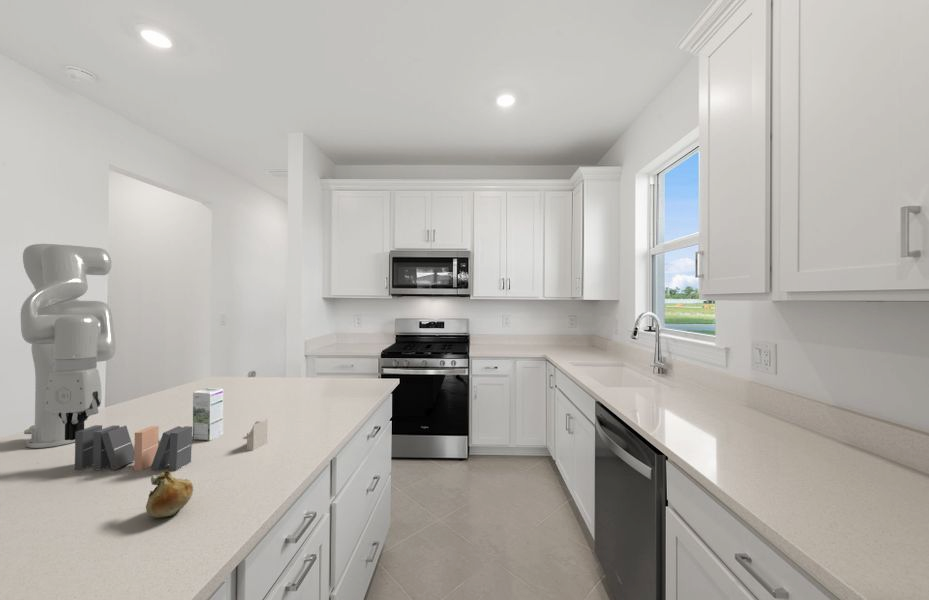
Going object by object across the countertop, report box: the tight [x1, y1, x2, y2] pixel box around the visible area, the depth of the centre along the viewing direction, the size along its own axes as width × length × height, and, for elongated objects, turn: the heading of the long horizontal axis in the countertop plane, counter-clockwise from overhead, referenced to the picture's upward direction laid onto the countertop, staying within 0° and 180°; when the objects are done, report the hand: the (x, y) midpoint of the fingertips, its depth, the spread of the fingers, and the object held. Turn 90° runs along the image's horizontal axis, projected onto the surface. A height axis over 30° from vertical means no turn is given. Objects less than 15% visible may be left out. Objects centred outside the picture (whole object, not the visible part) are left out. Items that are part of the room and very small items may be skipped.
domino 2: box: [93, 424, 120, 471], centre depth 95 cm, size 2×5×9 cm, turn 0°
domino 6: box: [168, 425, 193, 471], centre depth 95 cm, size 2×5×9 cm, turn 0°
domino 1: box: [74, 424, 103, 471], centre depth 95 cm, size 2×5×9 cm, turn 0°
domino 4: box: [133, 425, 160, 471], centre depth 95 cm, size 2×5×9 cm, turn 0°
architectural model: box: [242, 419, 270, 452], centre depth 109 cm, size 3×7×7 cm, turn 169°
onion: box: [145, 469, 194, 519], centre depth 74 cm, size 8×8×8 cm
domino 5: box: [150, 426, 184, 471], centre depth 95 cm, size 2×5×9 cm, turn 0°
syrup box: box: [192, 387, 224, 442], centre depth 115 cm, size 6×6×14 cm
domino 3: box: [101, 425, 135, 471], centre depth 95 cm, size 2×5×9 cm, turn 0°
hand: (74, 438), depth 95 cm, fingers closed
